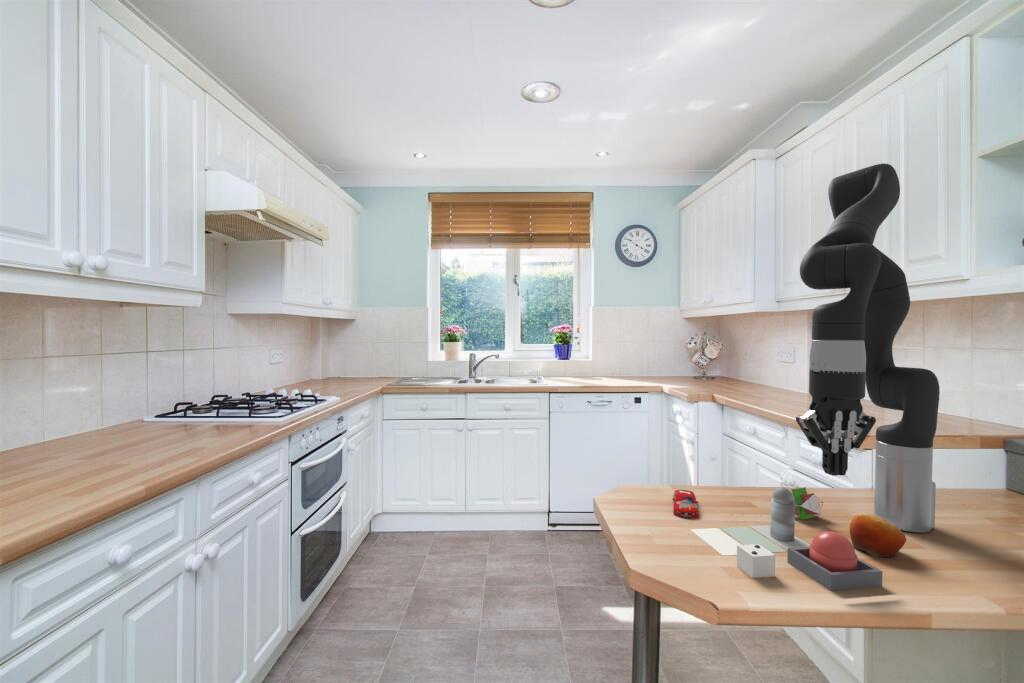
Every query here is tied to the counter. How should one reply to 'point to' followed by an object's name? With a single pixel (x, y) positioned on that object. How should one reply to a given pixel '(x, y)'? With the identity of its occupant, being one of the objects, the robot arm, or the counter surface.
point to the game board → (744, 539)
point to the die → (756, 560)
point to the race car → (685, 504)
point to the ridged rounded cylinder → (782, 515)
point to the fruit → (876, 536)
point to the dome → (833, 552)
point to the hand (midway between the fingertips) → (834, 473)
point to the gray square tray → (835, 580)
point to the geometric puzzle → (806, 503)
